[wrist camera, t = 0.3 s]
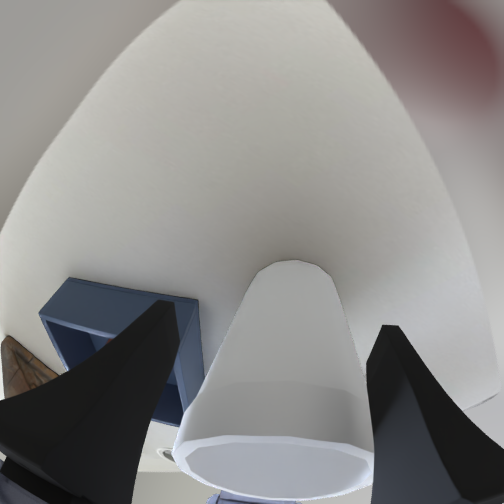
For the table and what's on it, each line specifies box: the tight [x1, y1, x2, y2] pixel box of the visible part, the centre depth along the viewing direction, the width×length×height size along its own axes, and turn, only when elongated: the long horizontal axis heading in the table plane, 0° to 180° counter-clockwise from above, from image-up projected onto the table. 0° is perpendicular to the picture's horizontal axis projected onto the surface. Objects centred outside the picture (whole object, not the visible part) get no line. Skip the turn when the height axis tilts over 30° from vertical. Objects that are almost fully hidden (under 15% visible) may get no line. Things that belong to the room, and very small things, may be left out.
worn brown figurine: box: [1, 336, 58, 399], centre depth 29 cm, size 12×6×18 cm, turn 46°
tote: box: [38, 277, 205, 428], centre depth 25 cm, size 12×12×5 cm
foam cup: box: [171, 260, 374, 501], centre depth 17 cm, size 10×9×13 cm
